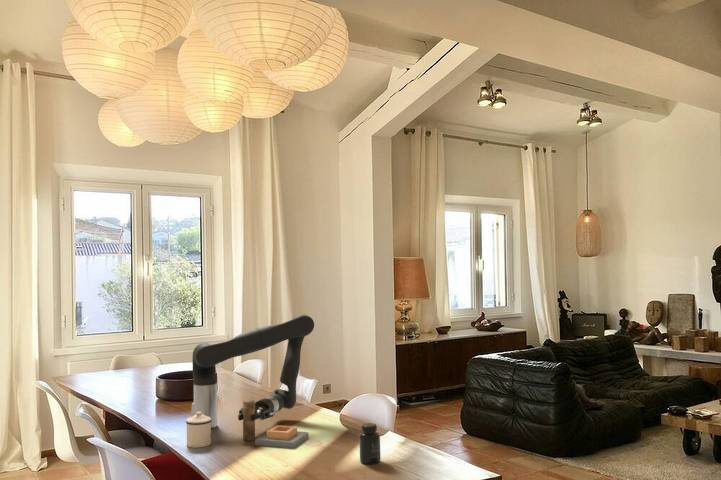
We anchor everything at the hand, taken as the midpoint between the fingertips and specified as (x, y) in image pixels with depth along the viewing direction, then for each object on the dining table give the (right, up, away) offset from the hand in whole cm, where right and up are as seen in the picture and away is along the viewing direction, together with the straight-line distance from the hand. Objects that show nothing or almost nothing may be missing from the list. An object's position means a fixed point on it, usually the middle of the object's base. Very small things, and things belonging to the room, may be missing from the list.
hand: (245, 418), depth 228 cm
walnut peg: (+1, -8, +2) cm, 9 cm away
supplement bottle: (+46, -7, -26) cm, 53 cm away
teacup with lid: (-17, -9, -3) cm, 20 cm away
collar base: (+14, -8, -1) cm, 16 cm away
